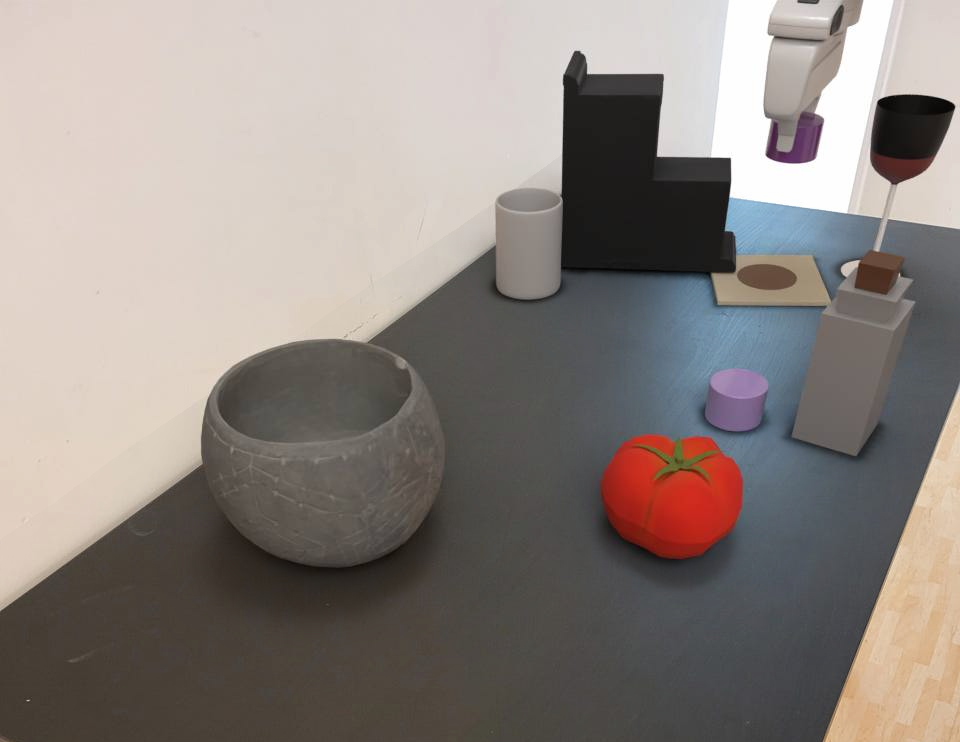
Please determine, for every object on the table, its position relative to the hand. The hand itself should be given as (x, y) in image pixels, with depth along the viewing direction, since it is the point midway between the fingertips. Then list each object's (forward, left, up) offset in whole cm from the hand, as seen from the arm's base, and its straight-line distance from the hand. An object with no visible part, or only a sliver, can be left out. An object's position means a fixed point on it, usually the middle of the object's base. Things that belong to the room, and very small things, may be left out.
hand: (793, 140), depth 111 cm
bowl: (+47, +54, -17) cm, 74 cm away
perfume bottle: (-2, +36, -17) cm, 40 cm away
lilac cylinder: (+8, +33, -17) cm, 38 cm away
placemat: (0, 0, -17) cm, 17 cm away
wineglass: (-14, -3, -17) cm, 22 cm away
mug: (+31, 0, -17) cm, 36 cm away
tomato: (+16, +53, -17) cm, 58 cm away
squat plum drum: (0, 0, -2) cm, 2 cm away
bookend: (+15, -7, -17) cm, 24 cm away
